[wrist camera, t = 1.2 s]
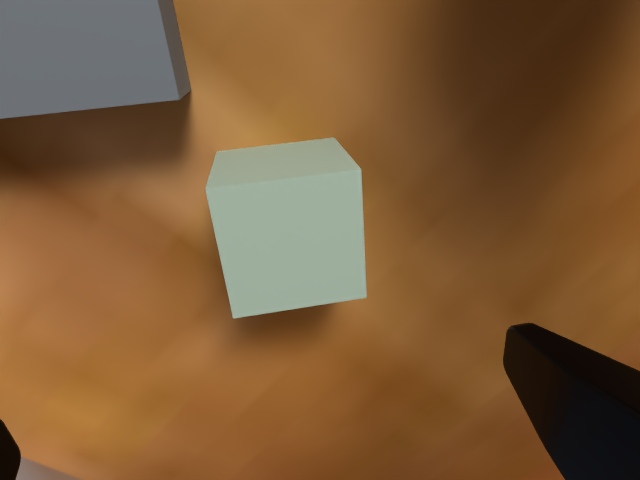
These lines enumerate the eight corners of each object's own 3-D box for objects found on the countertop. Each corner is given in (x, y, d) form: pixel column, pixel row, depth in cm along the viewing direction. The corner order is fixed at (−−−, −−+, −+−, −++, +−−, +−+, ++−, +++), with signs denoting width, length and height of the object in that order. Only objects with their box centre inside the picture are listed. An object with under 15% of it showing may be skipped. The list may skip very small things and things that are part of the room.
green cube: (333, 137, 18) (360, 169, 14) (341, 240, 20) (366, 297, 16) (216, 150, 18) (205, 188, 13) (236, 255, 20) (232, 318, 15)
